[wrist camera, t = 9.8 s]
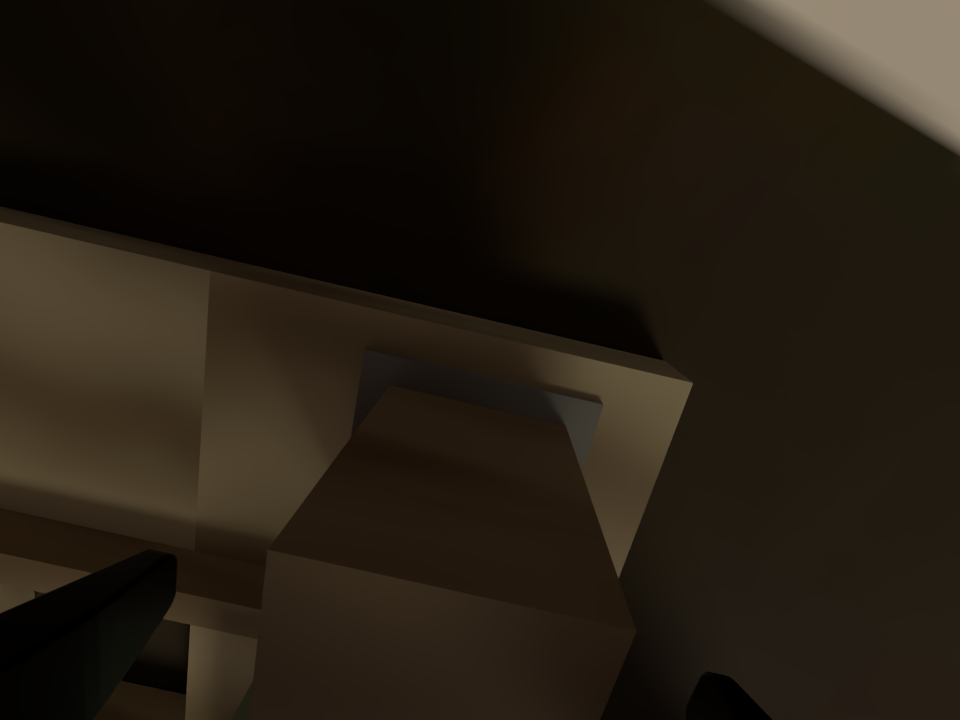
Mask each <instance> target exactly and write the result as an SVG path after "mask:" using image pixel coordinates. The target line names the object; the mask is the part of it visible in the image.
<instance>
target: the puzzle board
mask: <svg viewBox="0 0 960 720" xmlns="http://www.w3.org/2000/svg"><path fill="white" fill-rule="evenodd" d="M389 385H391V386H396V387H400V388H405V389H409V390H413V391H418V392H422V393H426V394H431V395H435V396H440V397H444V398H448V399H453V400H457V401H461V402H466V403H470V404H474V405H479V406H483V407H488V408H492V409H496V410H501V411H505V412H509V413H514V414H518V415H522V416H527V417H531V418H536V419H540V420H544V421H549V422H553V423H557V424H562V425H566V428H567V431H568V434H569V437H570V439H571V442H572V445H573V448H574V451H575V454H576V457H577V460H578V463H579V466H580V468H581V471H582V474H583V477H584V480H585V483H586V486H587V489H588V492H589V495H590V497H591V500H592V503H593V506H594V509H595V512H596V515H597V518H598V521H599V524H600V526H601V529H602V532H603V535H604V538H605V541H606V544H607V547H608V550H609V553H610V555H611V558H612V561H613V564H614V567H615V570H616V573H617V576H618V578H619V576H620V573H621V571H622V568H623V565H624V563H625V560H626V557H627V555H628V552H629V550H630V547H631V544H632V542H633V539H634V536H635V534H636V531H637V529H638V526H639V523H640V521H641V518H642V516H643V513H644V510H645V508H646V505H647V502H648V500H649V497H650V495H651V492H652V489H653V487H654V484H655V481H656V479H657V476H658V474H659V471H660V468H661V466H662V463H663V461H664V458H665V455H666V453H667V450H668V447H669V445H670V442H671V440H672V437H673V434H674V432H675V429H676V426H677V424H678V421H679V419H680V416H681V413H682V411H683V408H684V406H685V403H686V400H687V398H688V395H689V392H690V390H691V387H692V385H693V382H691V381H690V380H689V379H687V378H686V377H685V376H683V375H682V374H681V373H679V372H678V371H677V370H675V369H674V368H673V367H672V366H670V365H669V364H668V363H666V362H665V361H663V360H658V359H654V358H650V357H646V356H641V355H637V354H633V353H628V352H624V351H620V350H615V349H611V348H607V347H603V346H598V345H594V344H590V343H585V342H581V341H577V340H572V339H568V338H564V337H560V336H555V335H551V334H547V333H542V332H538V331H534V330H530V329H525V328H521V327H517V326H512V325H508V324H504V323H499V322H495V321H491V320H487V319H482V318H478V317H474V316H469V315H465V314H461V313H456V312H452V311H448V310H444V309H439V308H435V307H431V306H426V305H422V304H418V303H414V302H409V301H405V300H401V299H396V298H392V297H388V296H383V295H379V294H375V293H371V292H366V291H362V290H358V289H353V288H349V287H345V286H340V285H336V284H332V283H328V282H323V281H319V280H315V279H310V278H306V277H302V276H298V275H293V274H289V273H285V272H280V271H276V270H272V269H267V268H263V267H259V266H255V265H250V264H246V263H242V262H237V261H233V260H229V259H224V258H220V257H216V256H212V255H207V254H203V253H199V252H194V251H190V250H186V249H182V248H177V247H173V246H169V245H164V244H160V243H156V242H151V241H147V240H143V239H139V238H134V237H130V236H126V235H121V234H117V233H113V232H108V231H104V230H100V229H96V228H91V227H87V226H83V225H78V224H74V223H70V222H66V221H61V220H57V219H53V218H48V217H44V216H40V215H35V214H31V213H27V212H23V211H18V210H14V209H10V208H5V207H1V206H0V613H2V612H4V611H6V610H8V609H11V608H13V607H15V606H18V605H20V604H22V603H25V602H27V601H29V600H31V599H34V598H35V592H34V591H37V592H42V593H48V592H50V591H52V590H54V589H57V588H59V587H61V586H64V585H66V584H68V583H70V582H73V581H75V580H77V579H80V578H82V577H84V576H87V575H89V574H91V573H93V572H96V571H98V570H100V569H103V568H105V567H107V566H110V565H112V564H114V563H116V562H119V561H121V560H123V559H126V558H128V557H130V556H133V555H135V554H137V553H139V552H142V551H144V550H147V549H159V550H163V551H168V552H172V553H174V554H175V555H176V556H177V583H176V594H175V598H174V601H173V603H172V605H171V607H170V608H169V610H168V612H167V613H166V615H165V616H164V618H163V619H166V620H171V621H176V622H180V623H185V624H189V625H190V640H189V657H188V675H187V693H186V695H185V694H181V693H176V692H171V691H167V690H162V689H157V688H153V687H148V686H143V685H139V684H134V683H129V682H125V681H121V682H120V683H119V685H118V686H117V688H116V689H115V691H114V692H113V694H112V695H111V696H110V698H109V699H108V701H107V702H106V704H105V705H104V706H103V708H102V709H101V711H100V712H99V713H98V715H97V716H96V717H95V718H94V720H231V719H232V717H233V716H234V714H235V712H236V710H237V708H238V707H239V705H240V703H241V701H242V699H243V698H244V696H245V694H246V692H247V690H248V689H249V687H250V685H251V683H252V681H253V677H254V668H255V659H256V650H257V641H258V632H259V623H260V614H261V605H262V596H263V587H264V578H265V569H266V560H267V551H268V548H269V547H270V546H271V544H272V543H273V542H274V540H275V539H276V538H277V536H278V535H279V534H280V532H281V531H282V530H283V528H284V527H285V525H286V524H287V523H288V521H289V520H290V519H291V517H292V516H293V515H294V513H295V512H296V511H297V509H298V508H299V507H300V505H301V504H302V503H303V501H304V500H305V499H306V497H307V496H308V495H309V493H310V492H311V490H312V489H313V488H314V486H315V485H316V484H317V482H318V481H319V480H320V478H321V477H322V476H323V474H324V473H325V472H326V470H327V469H328V468H329V466H330V465H331V464H332V462H333V461H334V459H335V458H336V457H337V455H338V454H339V453H340V451H341V450H342V449H343V447H344V446H345V445H346V443H347V442H348V441H349V439H350V438H351V437H352V435H353V434H354V433H355V431H356V430H357V429H358V427H359V426H360V424H361V423H362V422H363V420H364V419H365V418H366V416H367V415H368V414H369V412H370V411H371V410H372V408H373V407H374V406H375V404H376V403H377V402H378V400H379V399H380V398H381V396H382V395H383V393H384V392H385V391H386V389H387V388H388V387H389Z"/></svg>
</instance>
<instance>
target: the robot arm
mask: <svg viewBox="0 0 960 720" xmlns="http://www.w3.org/2000/svg"><path fill="white" fill-rule="evenodd" d="M176 583H177V556H176V555H175V554H174V553H172V552H168V551H163V550H159V549H147V550H144V551H142V552H139V553H137V554H135V555H133V556H130V557H128V558H126V559H123V560H121V561H119V562H116V563H114V564H112V565H110V566H107V567H105V568H103V569H100V570H98V571H96V572H93V573H91V574H89V575H87V576H84V577H82V578H80V579H77V580H75V581H73V582H70V583H68V584H66V585H64V586H61V587H59V588H57V589H54V590H52V591H50V592H48V593H45V594H43V595H41V596H38V597H36V598H34V599H31V600H29V601H27V602H25V603H22V604H20V605H18V606H15V607H13V608H11V609H8V610H6V611H4V612H2V613H0V720H94V718H95V717H96V716H97V715H98V713H99V712H100V711H101V709H102V708H103V706H104V705H105V704H106V702H107V701H108V699H109V698H110V696H111V695H112V694H113V692H114V691H115V689H116V688H117V686H118V685H119V683H120V682H121V680H122V679H123V677H124V676H125V674H126V673H127V671H128V670H129V668H130V667H131V665H132V664H133V662H134V661H135V659H136V658H137V656H138V655H139V653H140V652H141V650H142V649H143V647H144V646H145V644H146V643H147V641H148V640H149V638H150V637H151V635H152V634H153V632H154V631H155V630H156V628H157V627H158V625H159V624H160V622H161V621H162V619H163V618H164V616H165V615H166V613H167V612H168V610H169V608H170V607H171V605H172V603H173V601H174V598H175V594H176ZM686 720H772V719H771V718H770V717H769V716H768V715H767V714H766V713H765V712H764V711H763V710H762V709H761V708H760V706H759V705H758V704H757V703H756V702H755V701H754V700H753V699H752V698H751V697H750V696H749V695H748V694H747V693H746V692H745V691H744V690H743V689H742V688H741V687H740V686H739V685H738V684H737V683H736V682H735V681H734V680H733V679H732V678H730V677H728V676H725V675H721V674H716V673H712V672H705V673H704V674H702V675H701V677H700V679H699V681H698V683H697V685H696V687H695V689H694V691H693V693H692V695H691V698H690V700H689V702H688V704H687V708H686Z"/></svg>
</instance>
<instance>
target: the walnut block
mask: <svg viewBox="0 0 960 720" xmlns="http://www.w3.org/2000/svg"><path fill="white" fill-rule="evenodd" d="M635 634H636V628H635V625H634V622H633V619H632V616H631V614H630V611H629V608H628V605H627V602H626V599H625V596H624V593H623V590H622V587H621V584H620V582H619V579H618V576H617V573H616V570H615V567H614V564H613V561H612V558H611V555H610V553H609V550H608V547H607V544H606V541H605V538H604V535H603V532H602V529H601V526H600V524H599V521H598V518H597V515H596V512H595V509H594V506H593V503H592V500H591V497H590V495H589V492H588V489H587V486H586V483H585V480H584V477H583V474H582V471H581V468H580V466H579V463H578V460H577V457H576V454H575V451H574V448H573V445H572V442H571V439H570V437H569V434H568V431H567V428H566V425H562V424H557V423H553V422H549V421H544V420H540V419H536V418H531V417H527V416H522V415H518V414H514V413H509V412H505V411H501V410H496V409H492V408H488V407H483V406H479V405H474V404H470V403H466V402H461V401H457V400H453V399H448V398H444V397H440V396H435V395H431V394H426V393H422V392H418V391H413V390H409V389H405V388H400V387H396V386H391V385H389V387H388V388H387V389H386V391H385V392H384V393H383V395H382V396H381V398H380V399H379V400H378V402H377V403H376V404H375V406H374V407H373V408H372V410H371V411H370V412H369V414H368V415H367V416H366V418H365V419H364V420H363V422H362V423H361V424H360V426H359V427H358V429H357V430H356V431H355V433H354V434H353V435H352V437H351V438H350V439H349V441H348V442H347V443H346V445H345V446H344V447H343V449H342V450H341V451H340V453H339V454H338V455H337V457H336V458H335V459H334V461H333V462H332V464H331V465H330V466H329V468H328V469H327V470H326V472H325V473H324V474H323V476H322V477H321V478H320V480H319V481H318V482H317V484H316V485H315V486H314V488H313V489H312V490H311V492H310V493H309V495H308V496H307V497H306V499H305V500H304V501H303V503H302V504H301V505H300V507H299V508H298V509H297V511H296V512H295V513H294V515H293V516H292V517H291V519H290V520H289V521H288V523H287V524H286V525H285V527H284V528H283V530H282V531H281V532H280V534H279V535H278V536H277V538H276V539H275V540H274V542H273V543H272V544H271V546H270V547H269V548H268V551H267V560H266V569H265V578H264V587H263V596H262V605H261V614H260V623H259V632H258V641H257V650H256V659H255V668H254V677H253V686H252V695H251V704H250V713H249V720H600V719H601V716H602V714H603V711H604V709H605V707H606V704H607V702H608V699H609V697H610V694H611V692H612V690H613V687H614V685H615V682H616V680H617V677H618V675H619V673H620V670H621V668H622V665H623V663H624V660H625V658H626V656H627V653H628V651H629V648H630V646H631V643H632V641H633V639H634V636H635Z"/></svg>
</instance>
